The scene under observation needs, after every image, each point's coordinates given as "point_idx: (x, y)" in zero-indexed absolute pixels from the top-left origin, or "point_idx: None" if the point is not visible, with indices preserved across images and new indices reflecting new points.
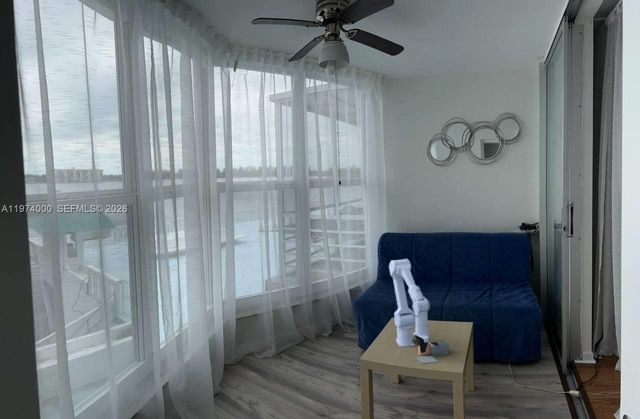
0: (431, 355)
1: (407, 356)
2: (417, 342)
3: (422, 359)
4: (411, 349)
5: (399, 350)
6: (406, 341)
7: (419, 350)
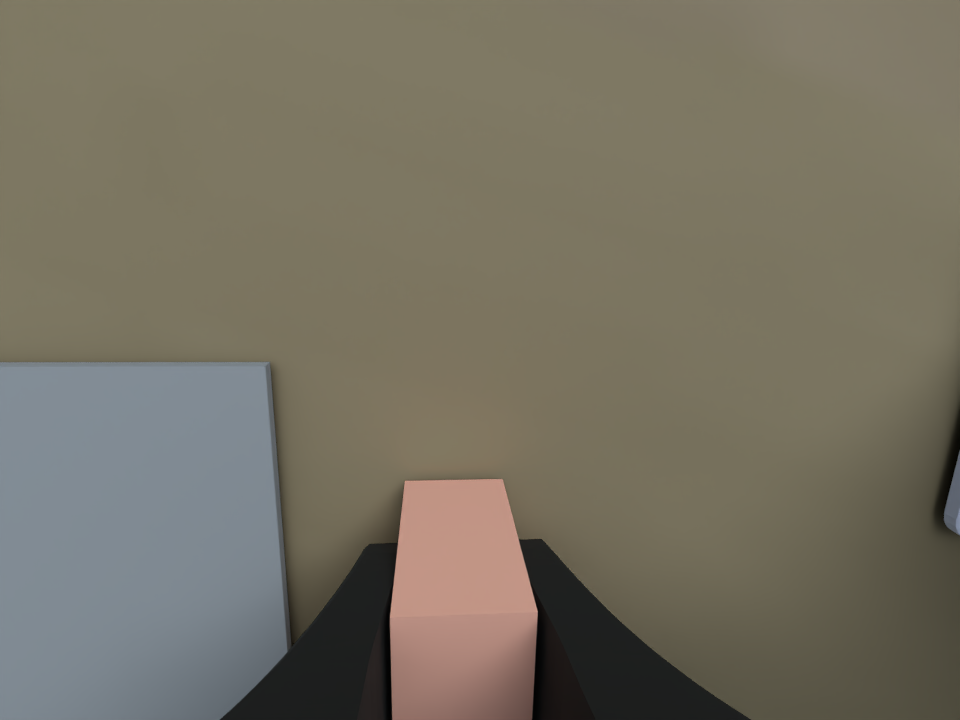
0: None
1: (401, 161)
2: (608, 674)
3: (84, 463)
4: (786, 394)
5: (830, 70)
6: None
7: (423, 539)
